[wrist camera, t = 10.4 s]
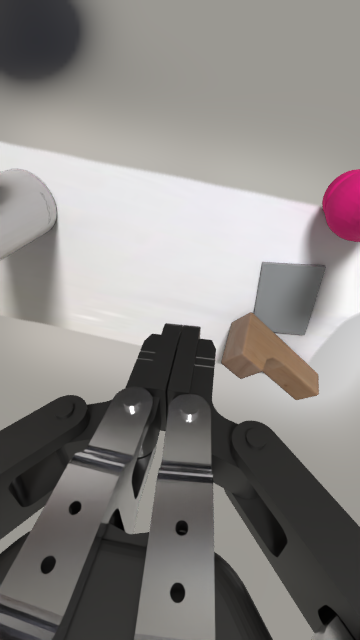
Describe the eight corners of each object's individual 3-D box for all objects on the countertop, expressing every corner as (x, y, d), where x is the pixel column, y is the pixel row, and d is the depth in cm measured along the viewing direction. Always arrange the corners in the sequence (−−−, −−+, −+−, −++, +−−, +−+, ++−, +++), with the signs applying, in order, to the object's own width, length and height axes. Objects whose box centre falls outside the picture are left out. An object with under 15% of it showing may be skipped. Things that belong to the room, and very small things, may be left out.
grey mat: (251, 327, 48) (251, 330, 48) (262, 261, 41) (262, 263, 41) (303, 332, 47) (304, 335, 47) (324, 265, 40) (325, 267, 40)
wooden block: (219, 363, 42) (294, 424, 48) (242, 353, 39) (320, 420, 45) (231, 321, 48) (296, 380, 54) (251, 310, 45) (319, 374, 51)
